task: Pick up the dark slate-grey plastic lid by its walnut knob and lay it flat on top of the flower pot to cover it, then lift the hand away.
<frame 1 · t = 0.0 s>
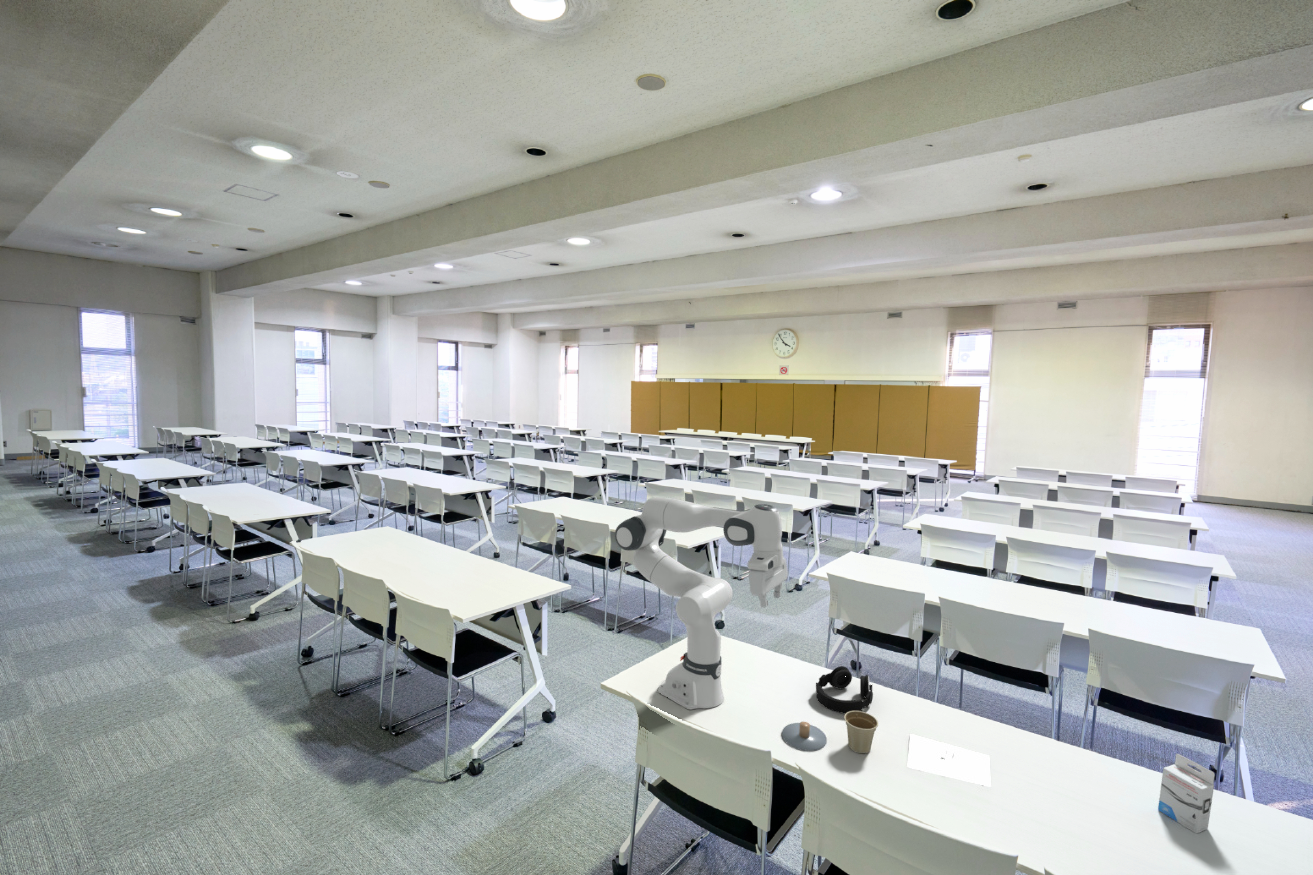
hand: (770, 601, 183), 39 cm above the table, tool pointing down, fingers open, 8 cm apart
lid: (804, 738, 180), on the table
flower pot: (859, 747, 175), on the table
paper sheet: (946, 775, 165), on the table
ink box: (1182, 820, 149), on the table
headphones: (844, 699, 202), on the table
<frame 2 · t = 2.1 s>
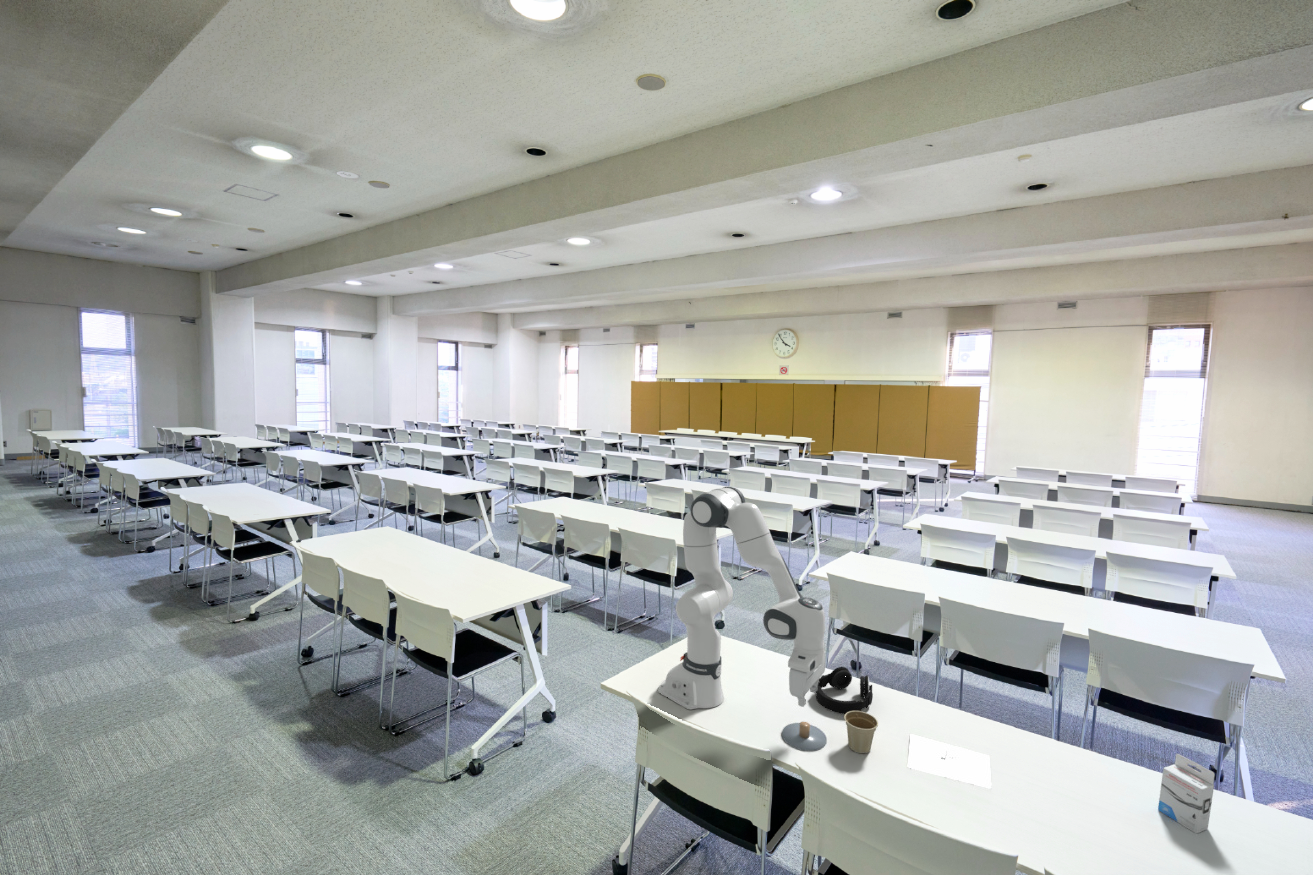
hand: (807, 698, 178), 13 cm above the table, tool pointing down, fingers open, 8 cm apart
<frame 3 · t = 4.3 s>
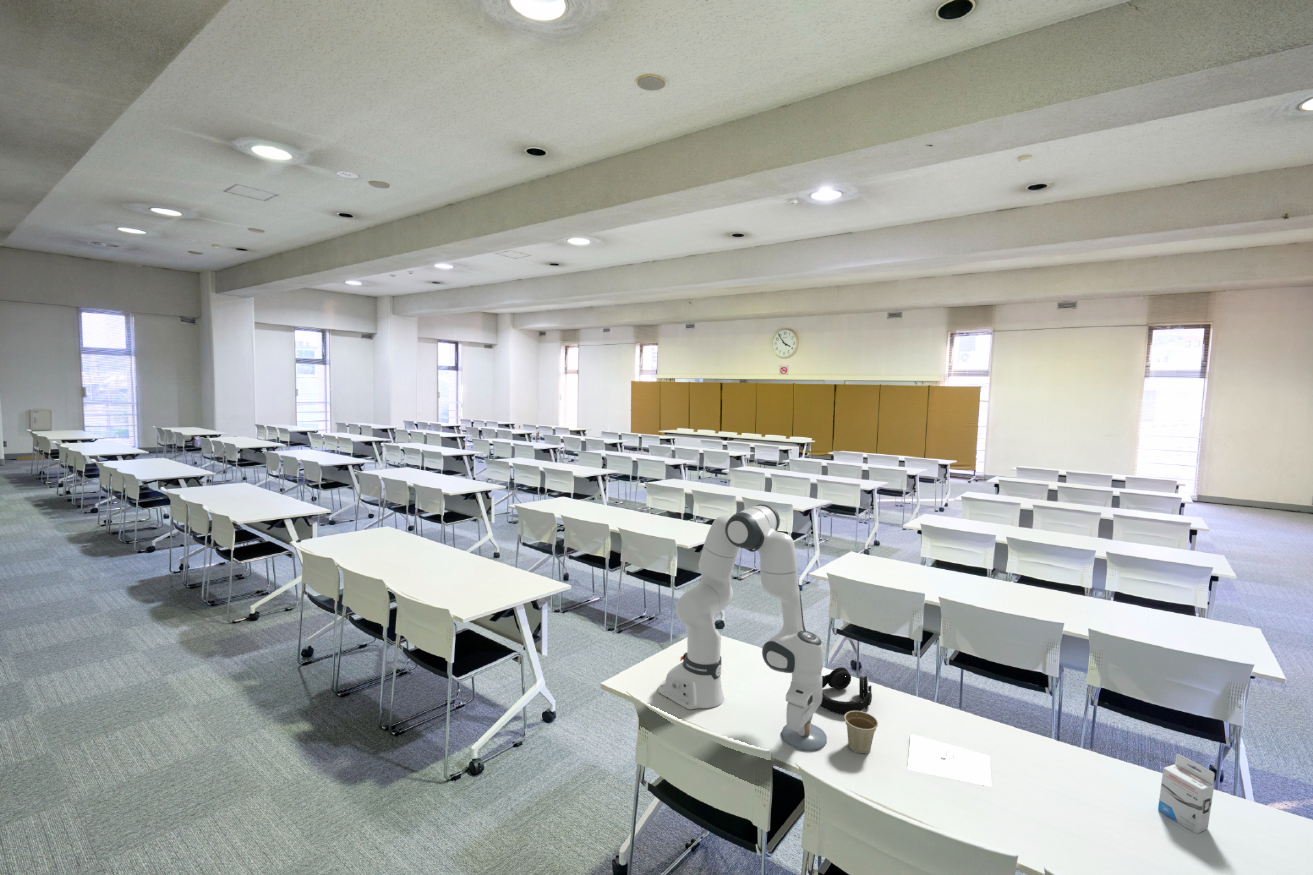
hand: (804, 730, 179), 2 cm above the table, tool pointing down, fingers closed on lid, 3 cm apart
lid: (804, 737, 180), on the table, touching gripper
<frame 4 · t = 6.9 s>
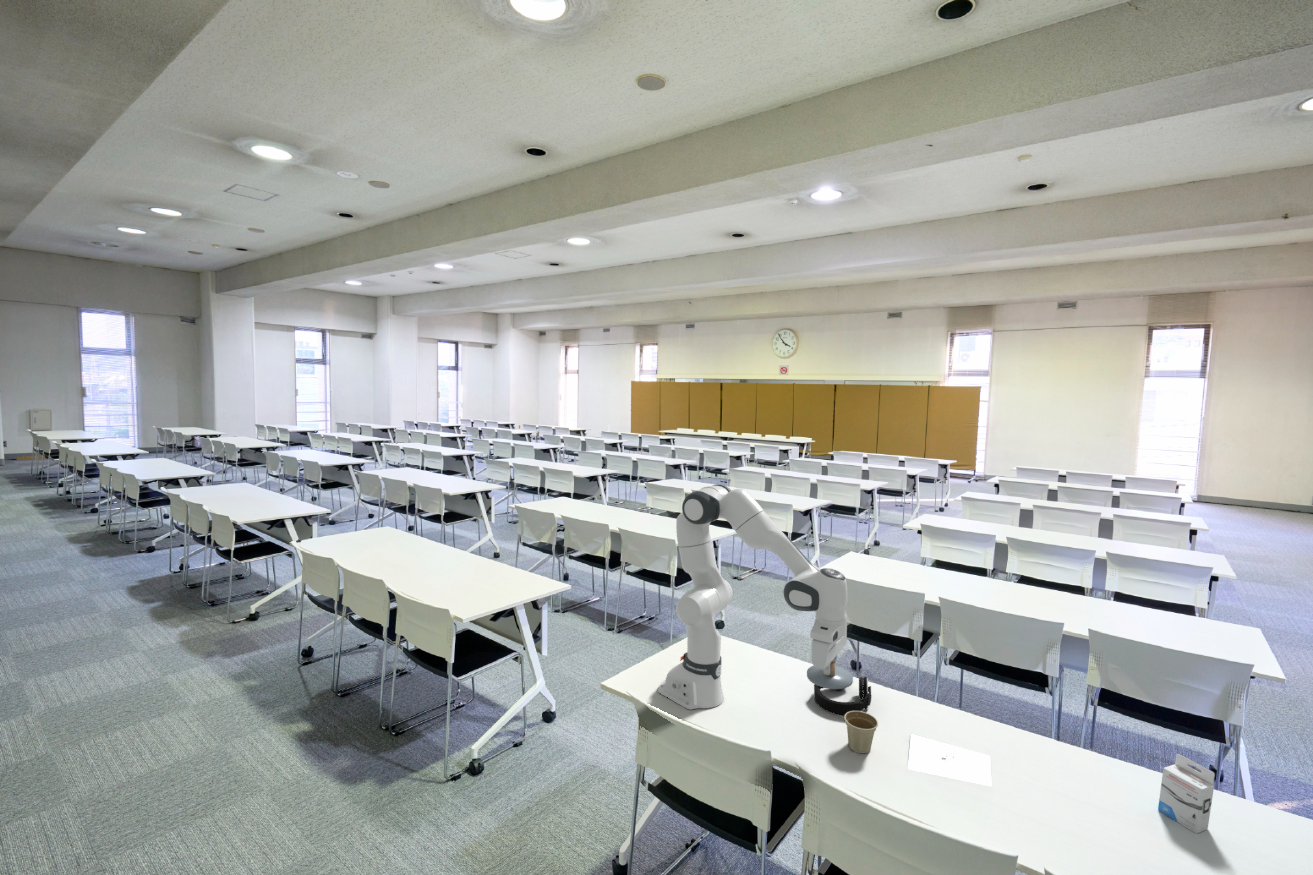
hand: (829, 670, 175), 22 cm above the table, tool pointing down, fingers closed on lid, 3 cm apart
lid: (829, 677, 175), point 20 cm above the table, touching gripper
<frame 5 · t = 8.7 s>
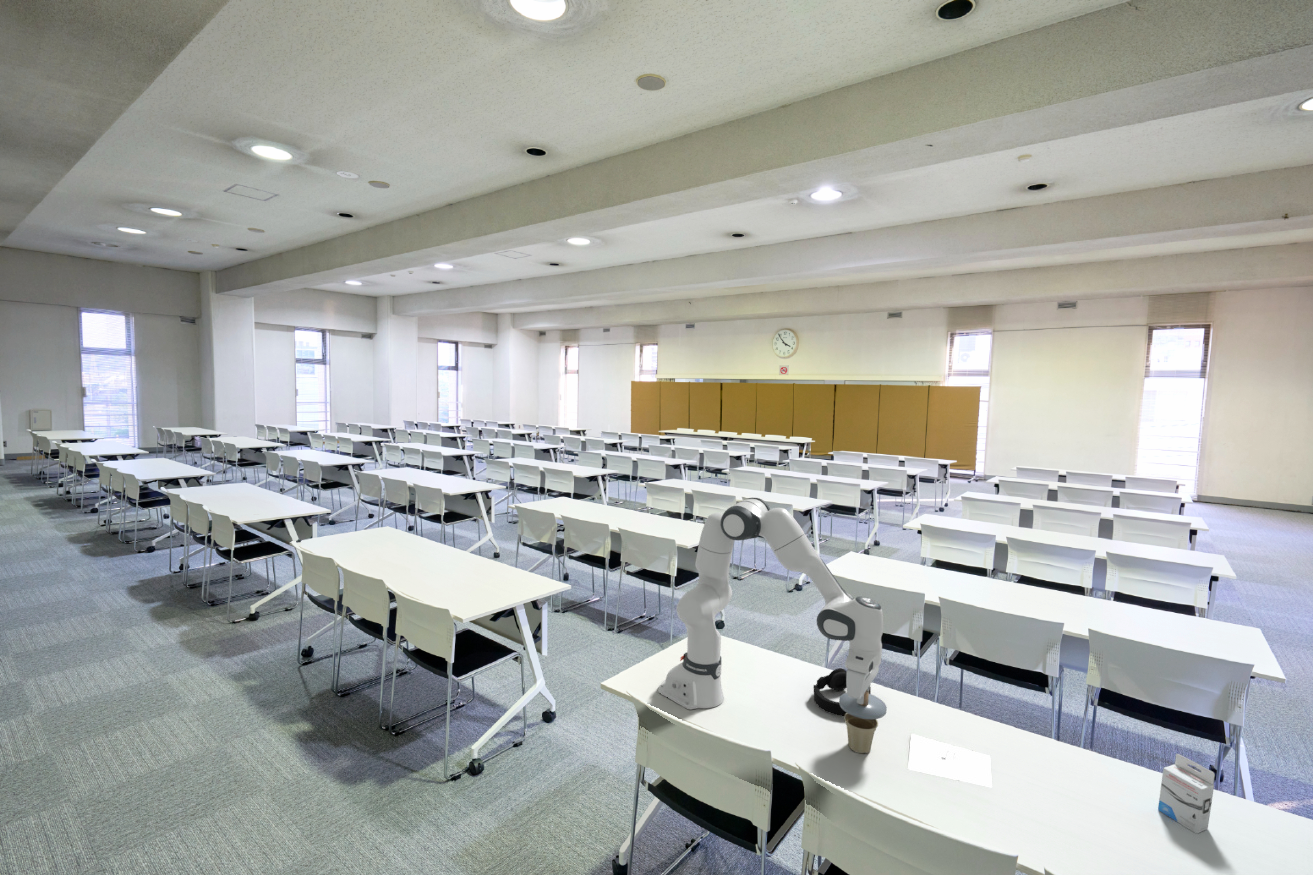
hand: (862, 699, 174), 15 cm above the table, tool pointing down, fingers closed on lid, 3 cm apart
lid: (862, 706, 174), point 13 cm above the table, touching gripper
when the fingers open (12 cm above the table, at t = 9.9 s): lid drops 1 cm, resting on flower pot.
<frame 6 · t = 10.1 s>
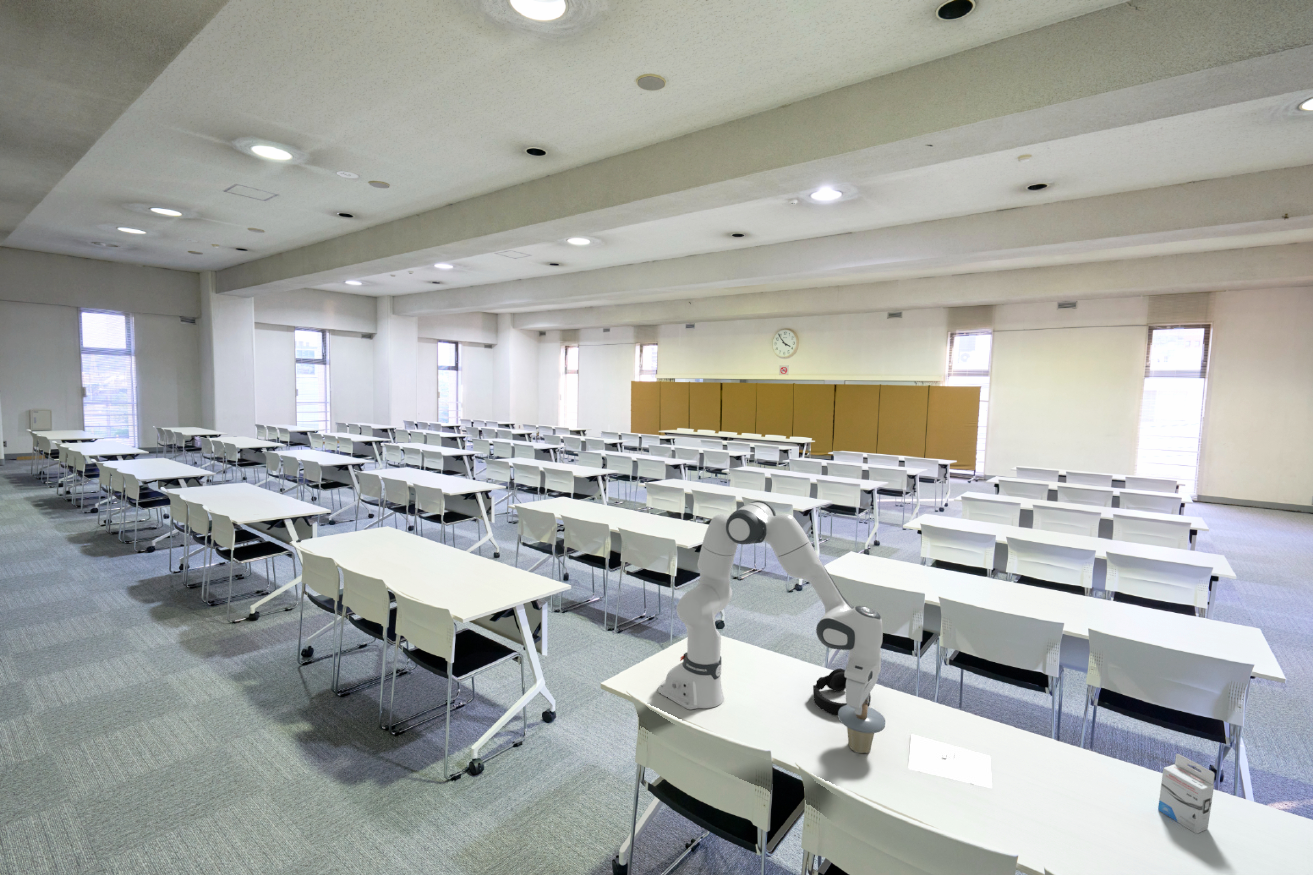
hand: (861, 708, 174), 12 cm above the table, tool pointing down, fingers open, 5 cm apart
lid: (861, 719, 174), point 9 cm above the table, touching flower pot
flower pot: (859, 747, 175), on the table, touching lid
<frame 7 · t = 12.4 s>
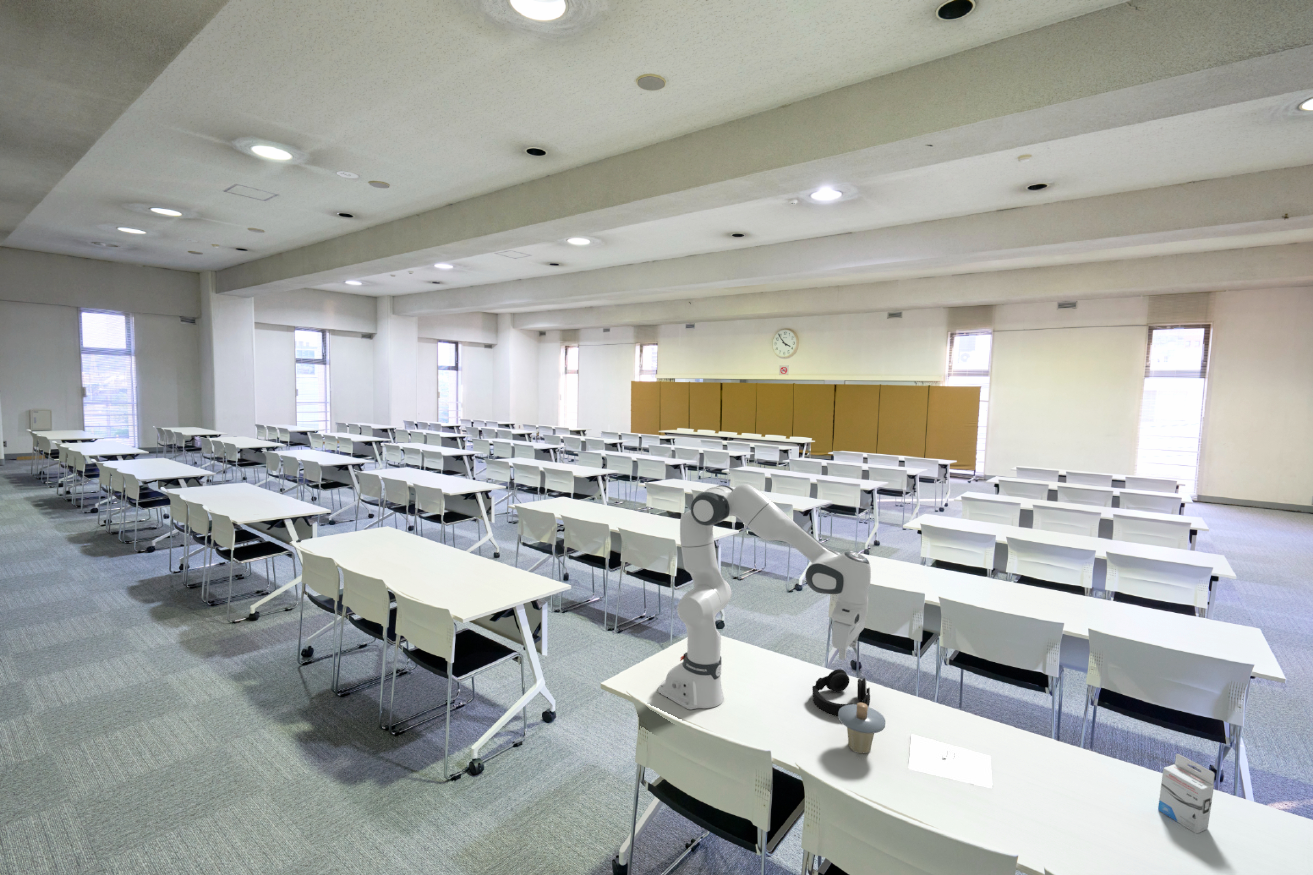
hand: (847, 652, 177), 27 cm above the table, tool pointing down, fingers open, 8 cm apart
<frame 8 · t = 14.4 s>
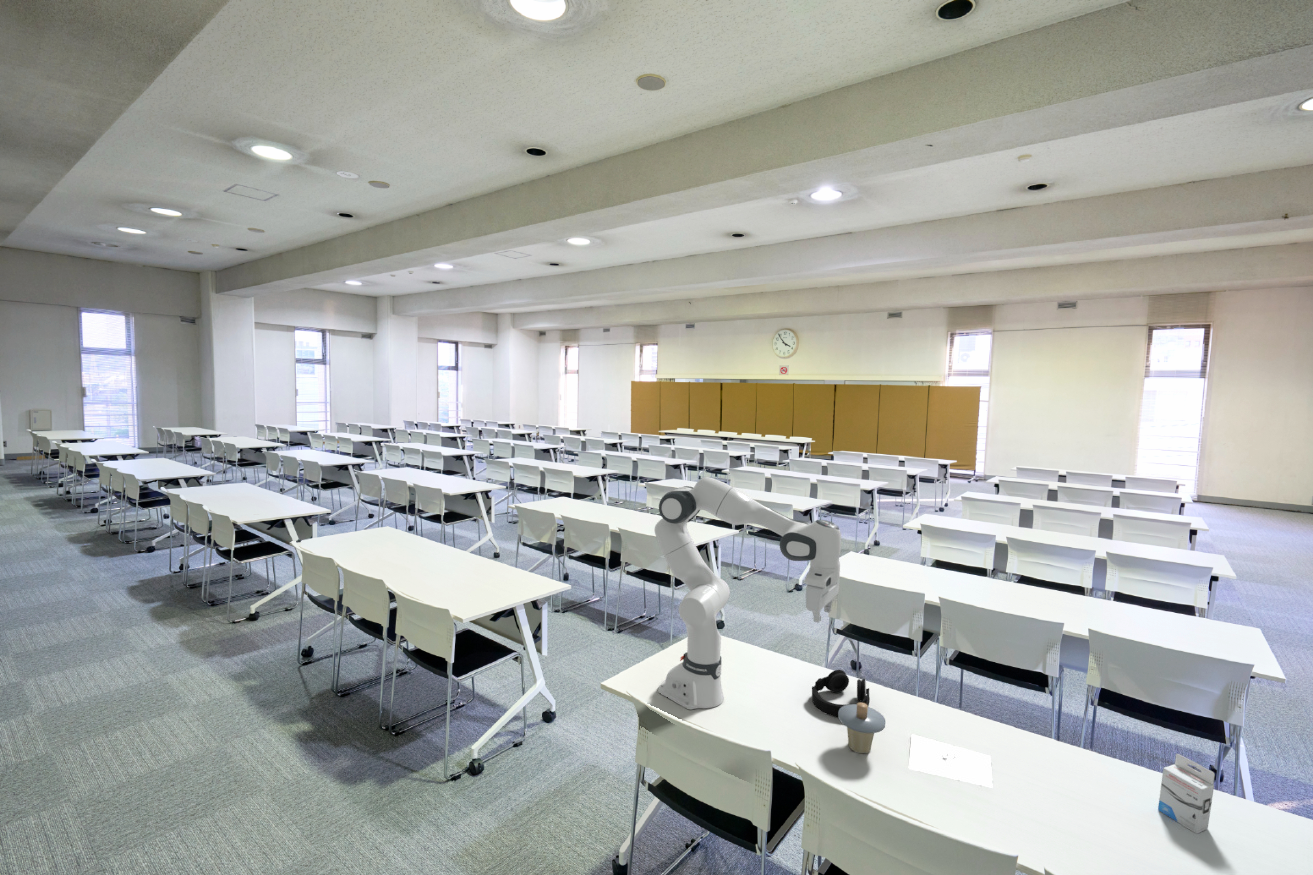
hand: (822, 616, 185), 34 cm above the table, tool pointing down, fingers open, 8 cm apart
at the end: lid 0.1 cm from the flower pot (horizontally); lid point 8.6 cm above the table; lid tilted 0° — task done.
